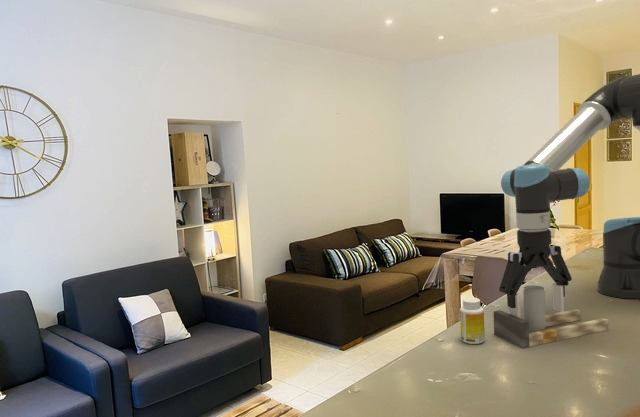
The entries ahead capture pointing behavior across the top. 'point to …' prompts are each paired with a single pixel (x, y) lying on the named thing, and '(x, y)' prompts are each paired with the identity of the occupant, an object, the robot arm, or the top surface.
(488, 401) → the top surface
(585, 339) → the top surface
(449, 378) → the top surface
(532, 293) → the beverage can
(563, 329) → the guide channel
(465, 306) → the supplement bottle
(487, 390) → the top surface
